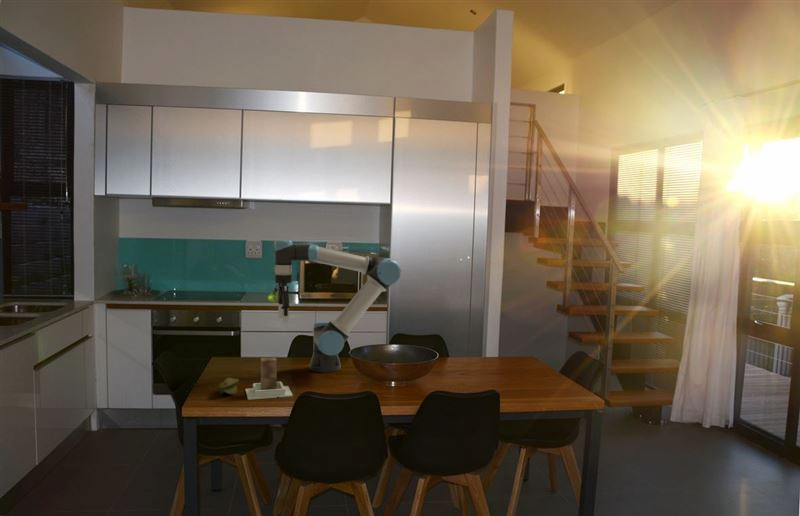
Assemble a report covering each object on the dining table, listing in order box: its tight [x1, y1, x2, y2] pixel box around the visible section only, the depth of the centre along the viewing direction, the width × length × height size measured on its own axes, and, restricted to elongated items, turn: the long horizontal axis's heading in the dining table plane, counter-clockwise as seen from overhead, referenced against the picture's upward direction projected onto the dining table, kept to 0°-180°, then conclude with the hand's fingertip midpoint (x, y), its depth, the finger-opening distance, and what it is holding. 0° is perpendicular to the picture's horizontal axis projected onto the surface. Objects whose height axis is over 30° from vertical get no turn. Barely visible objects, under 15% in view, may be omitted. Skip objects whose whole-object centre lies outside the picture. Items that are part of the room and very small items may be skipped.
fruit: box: [218, 377, 240, 395], centre depth 257 cm, size 11×12×7 cm
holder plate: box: [245, 381, 294, 401], centre depth 258 cm, size 18×14×3 cm
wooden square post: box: [260, 356, 278, 390], centre depth 258 cm, size 6×5×14 cm
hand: (283, 320), depth 281 cm, fingers open, 13 cm apart
